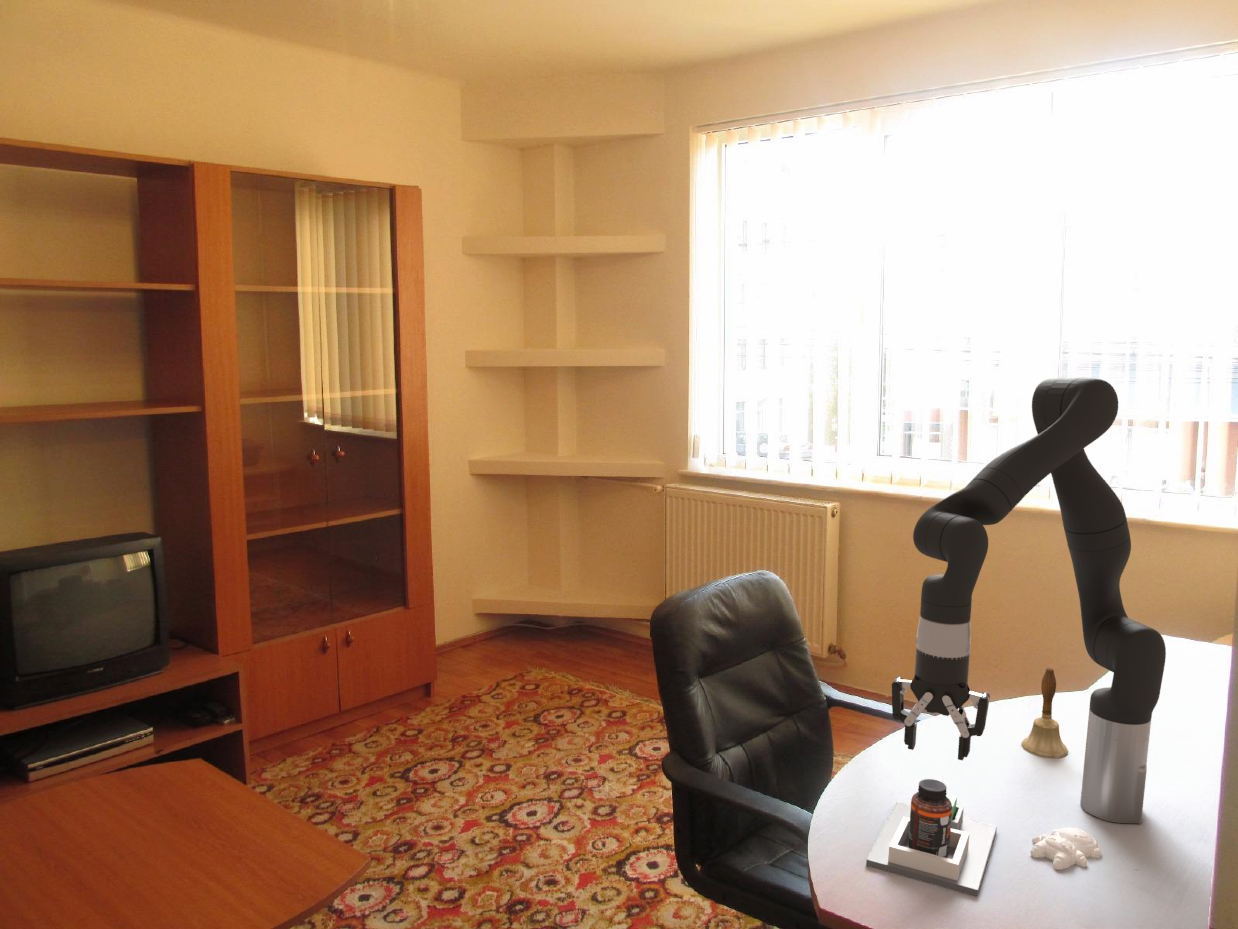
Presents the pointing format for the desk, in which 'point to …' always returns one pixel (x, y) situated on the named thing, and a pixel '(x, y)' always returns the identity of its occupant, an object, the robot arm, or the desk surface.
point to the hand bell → (1046, 725)
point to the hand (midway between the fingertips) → (936, 752)
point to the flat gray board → (953, 872)
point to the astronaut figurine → (1066, 847)
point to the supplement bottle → (930, 819)
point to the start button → (953, 804)
